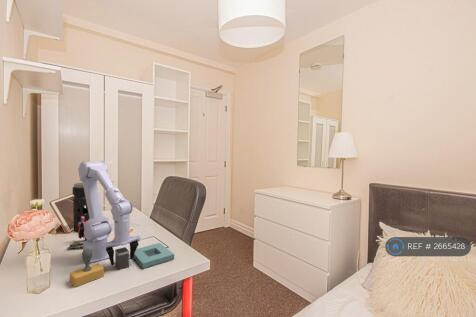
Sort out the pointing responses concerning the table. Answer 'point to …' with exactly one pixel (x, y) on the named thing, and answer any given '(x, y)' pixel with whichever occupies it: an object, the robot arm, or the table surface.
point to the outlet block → (152, 255)
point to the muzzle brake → (79, 205)
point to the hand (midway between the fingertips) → (122, 261)
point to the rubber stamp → (86, 271)
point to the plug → (122, 258)
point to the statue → (79, 243)
